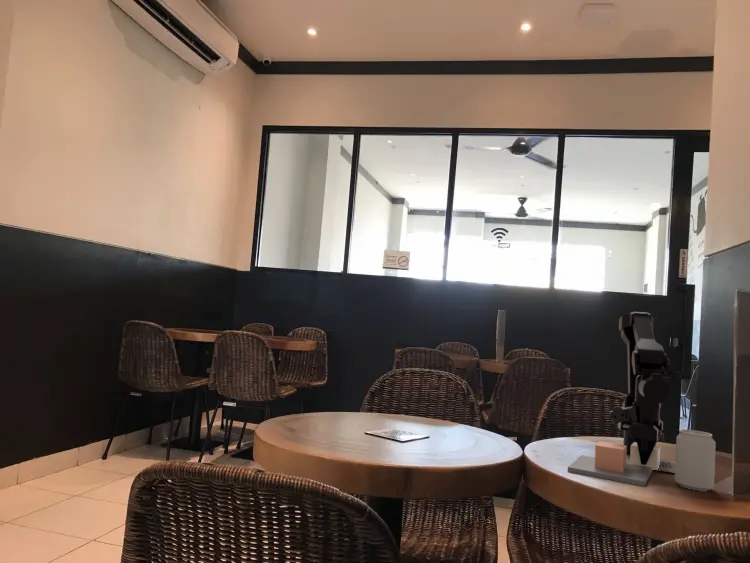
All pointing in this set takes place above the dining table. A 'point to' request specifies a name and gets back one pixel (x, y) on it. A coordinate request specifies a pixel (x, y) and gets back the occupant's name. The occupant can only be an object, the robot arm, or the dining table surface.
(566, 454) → the dining table surface
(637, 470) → the baseplate
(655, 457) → the brick cream
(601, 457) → the brick terracotta
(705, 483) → the can
